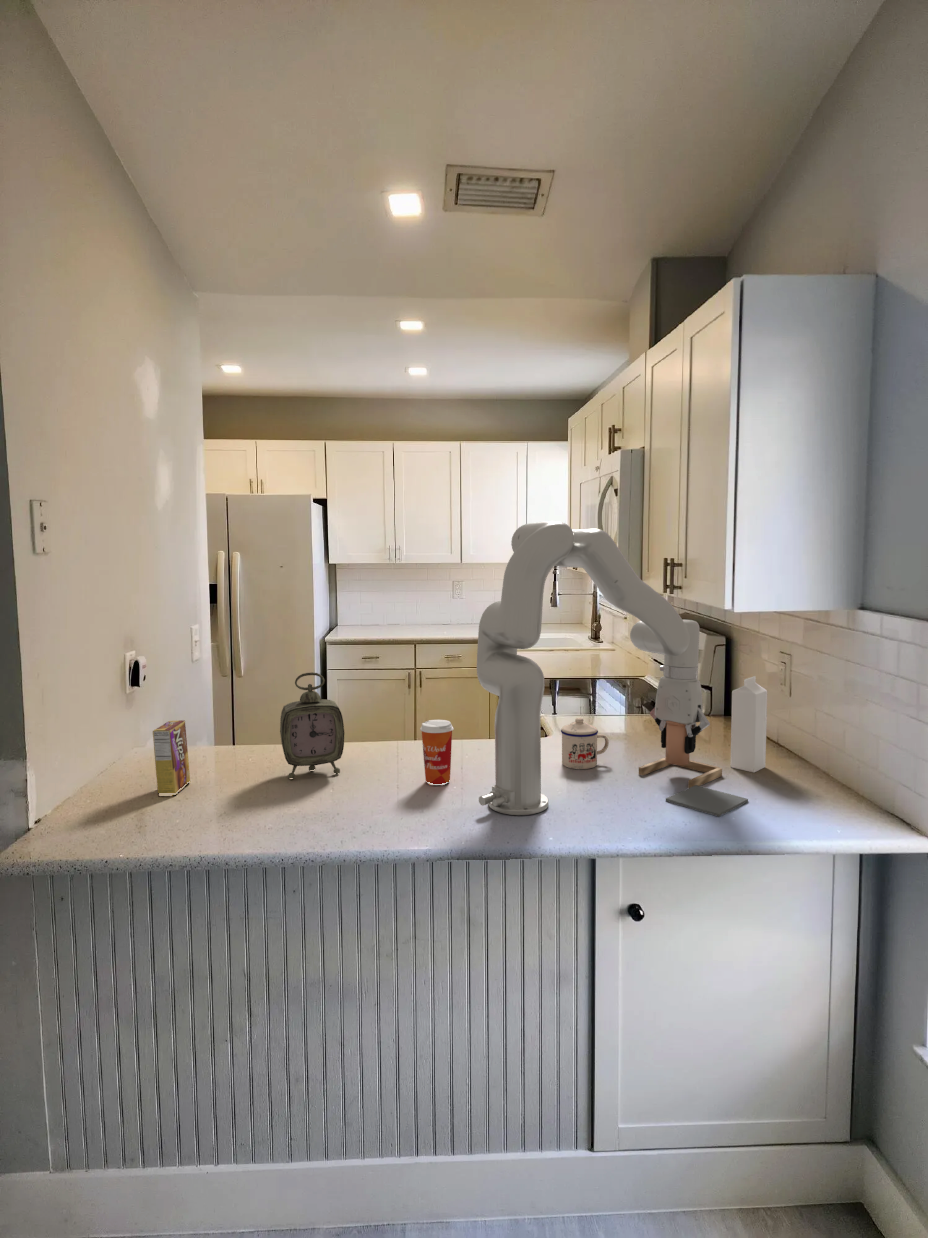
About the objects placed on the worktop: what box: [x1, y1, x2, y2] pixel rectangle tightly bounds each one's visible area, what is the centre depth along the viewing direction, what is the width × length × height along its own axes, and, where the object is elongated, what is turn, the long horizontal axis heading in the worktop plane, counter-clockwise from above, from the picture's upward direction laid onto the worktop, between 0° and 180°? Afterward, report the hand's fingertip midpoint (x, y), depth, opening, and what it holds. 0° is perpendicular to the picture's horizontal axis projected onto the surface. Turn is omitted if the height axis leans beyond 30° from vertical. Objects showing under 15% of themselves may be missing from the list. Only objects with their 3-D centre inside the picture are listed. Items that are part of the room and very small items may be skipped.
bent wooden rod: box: [638, 757, 723, 789], centre depth 163 cm, size 14×14×2 cm
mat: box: [665, 785, 749, 817], centre depth 146 cm, size 12×12×1 cm
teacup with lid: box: [560, 717, 610, 770], centre depth 172 cm, size 12×9×12 cm
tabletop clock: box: [279, 671, 345, 779], centre depth 167 cm, size 14×9×25 cm, turn 108°
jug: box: [664, 721, 691, 766], centre depth 162 cm, size 8×6×10 cm
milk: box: [730, 675, 768, 773], centre depth 167 cm, size 6×6×22 cm
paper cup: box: [419, 719, 455, 784], centre depth 160 cm, size 8×8×14 cm
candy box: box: [152, 719, 191, 794], centre depth 158 cm, size 9×4×15 cm, turn 0°
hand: (677, 749), depth 162 cm, fingers closed on jug, 5 cm apart
